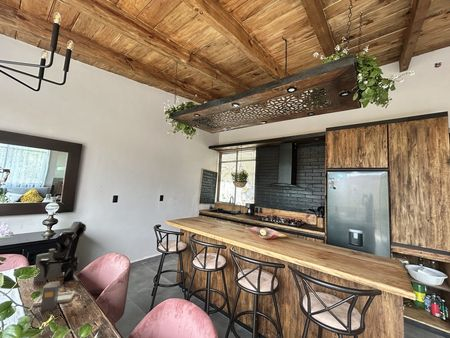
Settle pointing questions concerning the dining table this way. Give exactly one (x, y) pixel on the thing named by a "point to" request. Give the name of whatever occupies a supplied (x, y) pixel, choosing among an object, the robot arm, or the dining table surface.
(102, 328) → the dining table surface
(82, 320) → the dining table surface
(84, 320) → the dining table surface
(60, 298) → the tray
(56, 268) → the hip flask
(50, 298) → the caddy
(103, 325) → the dining table surface
